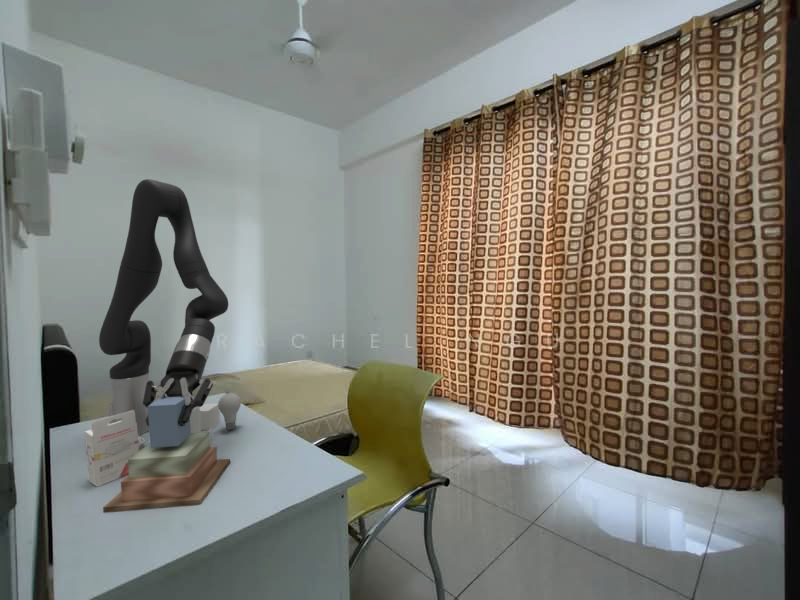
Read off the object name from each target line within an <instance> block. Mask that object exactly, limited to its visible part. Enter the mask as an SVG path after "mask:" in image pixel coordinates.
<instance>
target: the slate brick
mask: <svg viewBox="0 0 800 600" xmlns="http://www.w3.org/2000/svg"><path fill="white" fill-rule="evenodd" d="M184 401H185V398H183V396H175V397H165V398H163V399H159V400H157V401H155V402H154V403H152V404H150V405H149V406H148V419H149V431H148V432H149V443H150V447H151V448H157V447H172V446H179V445H180V444H181V443H182V442H183V441H184V440H185V439H187V438H188V437H189V436H190V435H191V428H190V419H189V421H188V423H186V424H185V426H180V425H179V424H178V419H179V416H180V413H181V410H182V407H183V406H185V404H184Z"/></svg>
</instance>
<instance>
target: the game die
mask: <svg viewBox="0 0 800 600" xmlns="http://www.w3.org/2000/svg"><path fill="white" fill-rule="evenodd" d="M145 442H146V441H145V439H144V438H143V437H142V436H138V443H139V449H140V450H141V449H143V448H144V447H145V446H146V445H145V444H146V443H145Z"/></svg>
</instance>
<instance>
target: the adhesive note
mask: <svg viewBox="0 0 800 600" xmlns="http://www.w3.org/2000/svg"><path fill="white" fill-rule="evenodd" d="M220 413H221V411H220V410H219V407H218V403H204V404H203V406H201V407H200V417H201V431H210V430H212V429H213V428H214V427H215V426H216V425H218V424H220V423H221V415H220Z"/></svg>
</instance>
